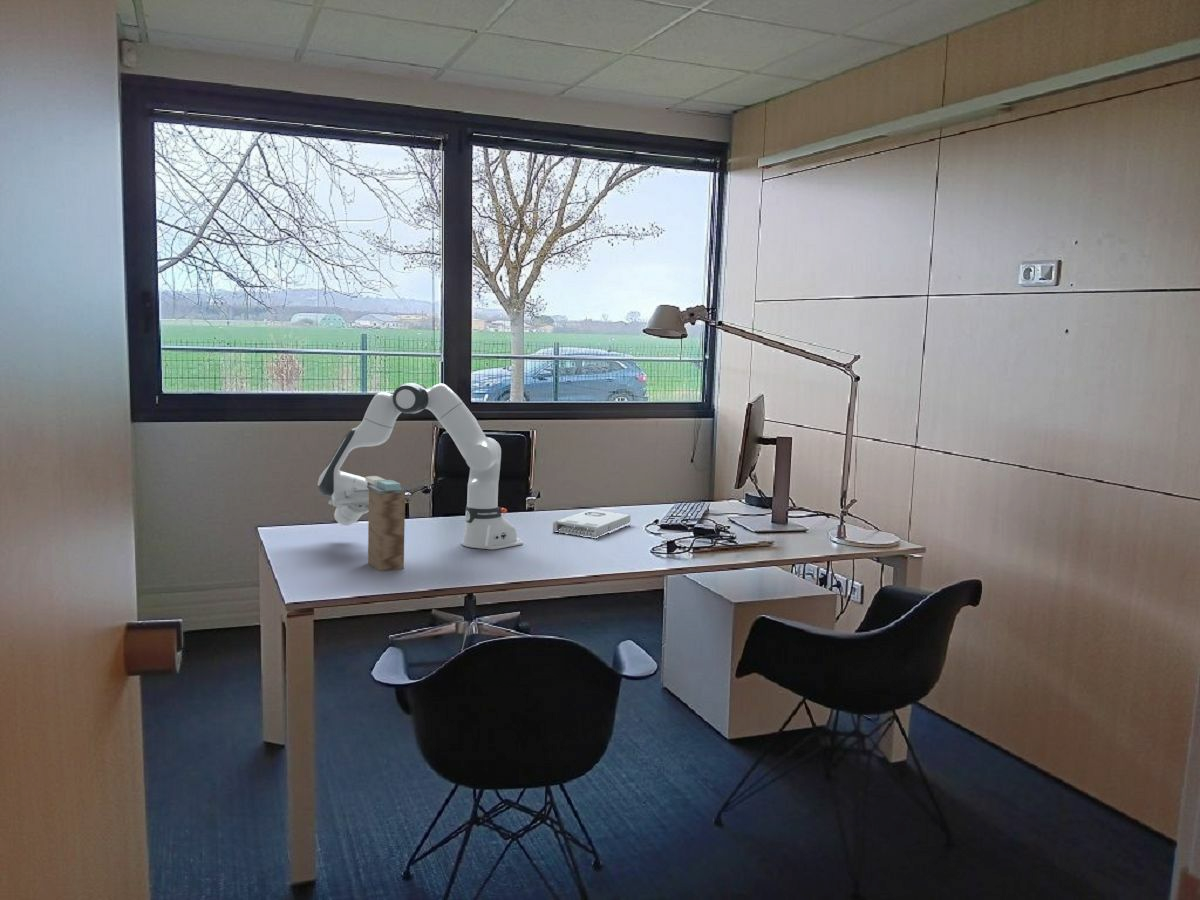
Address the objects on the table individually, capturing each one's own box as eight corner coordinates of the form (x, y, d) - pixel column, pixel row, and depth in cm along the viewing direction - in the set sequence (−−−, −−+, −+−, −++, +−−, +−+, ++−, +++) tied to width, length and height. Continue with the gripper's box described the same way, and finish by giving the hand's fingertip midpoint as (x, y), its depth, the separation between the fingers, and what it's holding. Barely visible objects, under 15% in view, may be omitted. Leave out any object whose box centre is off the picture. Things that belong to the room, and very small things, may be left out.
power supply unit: (552, 534, 349) (552, 521, 349) (590, 520, 379) (590, 509, 378) (594, 540, 341) (595, 528, 340) (630, 526, 370) (630, 514, 370)
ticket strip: (378, 480, 299) (378, 474, 299) (400, 489, 283) (400, 483, 282) (363, 480, 296) (364, 475, 296) (385, 490, 280) (385, 484, 280)
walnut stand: (392, 560, 296) (393, 484, 293) (405, 568, 287) (406, 489, 284) (366, 563, 291) (367, 485, 288) (378, 571, 282) (379, 491, 279)
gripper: (325, 496, 306) (336, 481, 296) (382, 492, 318) (394, 478, 307) (328, 513, 304) (339, 499, 294) (385, 508, 316) (398, 495, 305)
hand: (368, 488), depth 301 cm, fingers open, 8 cm apart
